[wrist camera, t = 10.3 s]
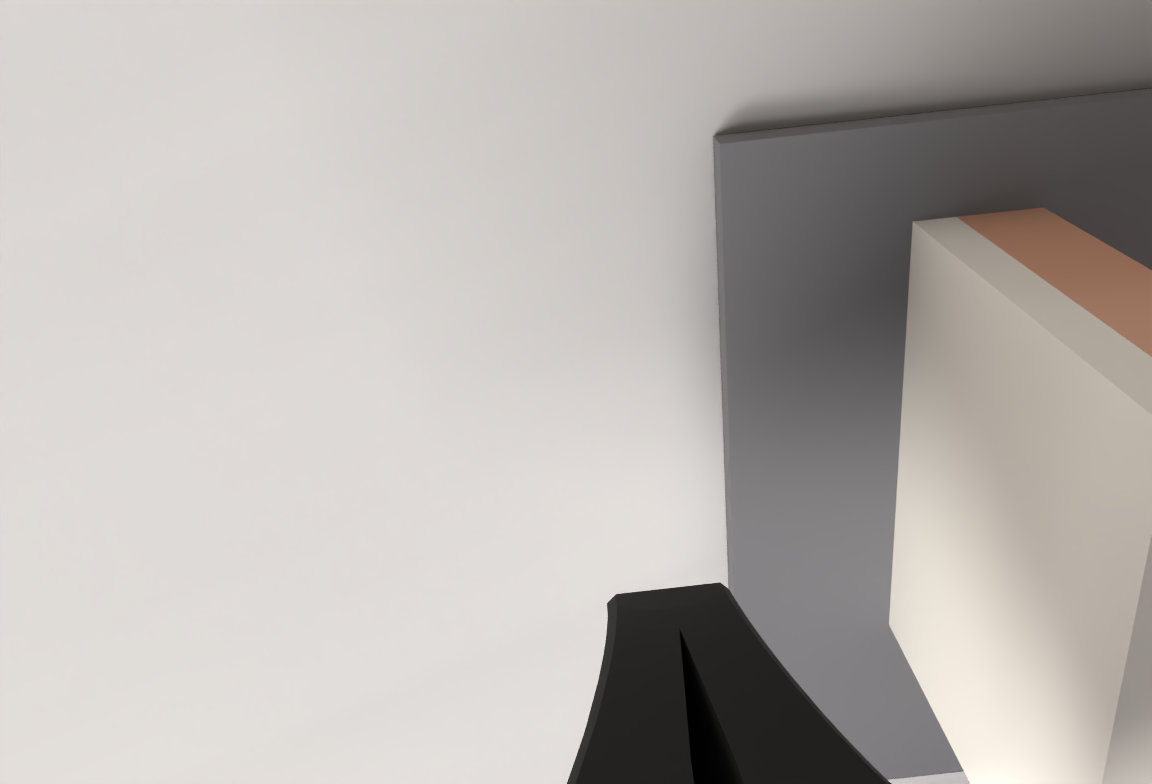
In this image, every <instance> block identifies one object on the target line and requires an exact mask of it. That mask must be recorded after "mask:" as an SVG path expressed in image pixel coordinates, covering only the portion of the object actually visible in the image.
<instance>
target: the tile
mask: <svg viewBox="0 0 1152 784" xmlns="http://www.w3.org/2000/svg"><path fill="white" fill-rule="evenodd" d="M889 626H890V628H891V630H892V632H893V633H894V635H895V637H896V639H897V641H898V643H899V645H900V647H901V649H902V651H903V653H904V655H905V657H906V659H907V661H908V663H909V665H910V667H911V669H912V671H913V673H914V675H915V676H916V678H917V680H918V682H919V684H920V686H921V688H922V690H923V692H924V694H925V696H926V698H927V700H928V702H929V704H930V706H931V708H932V710H933V712H934V714H935V716H936V718H937V720H938V721H939V723H940V725H941V727H942V729H943V731H944V733H945V735H946V737H947V739H948V741H949V743H950V745H951V747H952V749H953V751H954V753H955V755H956V757H957V759H958V761H959V763H960V764H961V766H962V768H963V770H964V772H965V774H966V776H967V778H968V780H969V782H970V784H1152V270H1150V269H1149V268H1147V267H1145V266H1144V265H1142V264H1140V263H1138V262H1137V261H1135V260H1133V259H1131V258H1130V257H1128V256H1126V255H1125V254H1123V253H1121V252H1119V251H1118V250H1116V249H1114V248H1112V247H1111V246H1109V245H1107V244H1106V243H1104V242H1102V241H1100V240H1099V239H1097V238H1095V237H1094V236H1092V235H1090V234H1088V233H1087V232H1085V231H1083V230H1081V229H1080V228H1078V227H1076V226H1075V225H1073V224H1071V223H1069V222H1068V221H1066V220H1064V219H1063V218H1061V217H1059V216H1057V215H1056V214H1054V213H1052V212H1050V211H1049V210H1047V209H1045V208H1044V207H1043V208H1034V209H1025V210H1015V211H1006V212H997V213H987V214H978V215H969V216H959V217H950V218H941V219H931V220H922V221H913V225H912V242H911V258H910V275H909V292H908V309H907V326H906V343H905V360H904V377H903V394H902V411H901V428H900V445H899V462H898V479H897V496H896V513H895V530H894V547H893V564H892V581H891V598H890V615H889Z"/></svg>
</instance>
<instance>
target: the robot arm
mask: <svg viewBox="0 0 1152 784" xmlns="http://www.w3.org/2000/svg"><path fill="white" fill-rule="evenodd" d="M607 609H608V624H607V636H606V643H605V650H604V656H603V661H602V666H601V671H600V676H599V680H598V684H597V688H596V692H595V696H594V699H593V703H592V707H591V711H590V715H589V718H588V722H587V726H586V729H585V733H584V736H583V739H582V742H581V745H580V748H579V751H578V753H577V756H576V759H575V762H574V765H573V768H572V771H571V774H570V776H569V779H568V782H567V784H891V783H890V782H889V781H888V780H887V779H886V778H885V777H884V776H883V775H882V774H881V773H880V772H879V771H878V770H877V769H876V768H875V767H874V766H873V765H872V764H871V763H870V762H869V761H868V760H867V759H866V758H865V757H864V756H863V755H862V754H861V753H860V752H859V751H858V750H857V749H856V748H855V747H854V746H853V745H852V744H851V743H850V742H849V741H848V740H847V739H846V738H845V737H844V735H843V734H842V733H841V732H840V731H839V730H838V729H837V728H836V727H835V726H834V725H833V723H832V722H831V721H830V720H829V719H828V718H827V717H826V716H825V715H824V714H823V712H822V711H821V710H820V709H819V708H818V707H817V705H816V704H815V703H814V702H813V701H812V700H811V698H810V697H809V696H808V695H807V694H806V692H805V691H804V690H803V689H802V688H801V687H800V685H799V684H798V683H797V682H796V681H795V680H794V678H793V677H792V676H791V675H790V674H789V672H788V671H787V670H786V669H785V667H784V666H783V665H782V664H781V662H780V661H779V660H778V659H777V657H776V656H775V655H774V653H773V652H772V651H771V649H770V648H769V647H768V645H767V644H766V643H765V641H764V640H763V639H762V638H761V636H760V635H759V633H758V632H757V631H756V629H755V628H754V626H753V625H752V624H751V622H750V621H749V619H748V618H747V616H746V615H745V614H744V612H743V610H742V609H741V607H740V606H739V604H738V603H737V601H736V600H735V598H734V596H733V595H732V593H731V591H730V590H729V589H728V588H727V587H725V586H724V585H723V584H721V583H712V584H703V585H694V586H686V587H677V588H668V589H659V590H650V591H641V592H632V593H623V594H616V595H615V596H614V597H613V598H612V599H611V600H610V601H609V602H608V603H607Z"/></svg>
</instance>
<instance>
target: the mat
mask: <svg viewBox="0 0 1152 784" xmlns="http://www.w3.org/2000/svg"><path fill="white" fill-rule="evenodd" d="M713 149H714V178H715V207H716V236H717V265H718V294H719V323H720V352H721V381H722V410H723V439H724V468H725V497H726V526H727V555H728V584H729V590H730V591H731V593H732V595H733V596H734V598H735V600H736V601H737V603H738V604H739V606H740V607H741V609H742V610H743V612H744V614H745V615H746V616H747V618H748V619H749V621H750V622H751V624H752V625H753V626H754V628H755V629H756V631H757V632H758V633H759V635H760V636H761V638H762V639H763V640H764V641H765V643H766V644H767V645H768V647H769V648H770V649H771V651H772V652H773V653H774V655H775V656H776V657H777V659H778V660H779V661H780V662H781V664H782V665H783V666H784V667H785V669H786V670H787V671H788V672H789V674H790V675H791V676H792V677H793V678H794V680H795V681H796V682H797V683H798V684H799V685H800V687H801V688H802V689H803V690H804V691H805V692H806V694H807V695H808V696H809V697H810V698H811V700H812V701H813V702H814V703H815V704H816V705H817V707H818V708H819V709H820V710H821V711H822V712H823V714H824V715H825V716H826V717H827V718H828V719H829V720H830V721H831V722H832V723H833V725H834V726H835V727H836V728H837V729H838V730H839V731H840V732H841V733H842V734H843V735H844V737H845V738H846V739H847V740H848V741H849V742H850V743H851V744H852V745H853V746H854V747H855V748H856V749H857V750H858V751H859V752H860V753H861V754H862V755H863V756H864V757H865V758H866V759H867V760H868V761H869V762H870V763H871V764H872V765H873V766H874V767H875V768H876V769H877V770H878V771H879V772H880V773H881V774H882V775H883V776H884V777H885V778H886V779H887V780H889V779H898V778H907V777H916V776H925V775H934V774H943V773H952V772H961V771H964V770H963V768H962V766H961V764H960V763H959V761H958V759H957V757H956V755H955V753H954V751H953V749H952V747H951V745H950V743H949V741H948V739H947V737H946V735H945V733H944V731H943V729H942V727H941V725H940V723H939V721H938V720H937V718H936V716H935V714H934V712H933V710H932V708H931V706H930V704H929V702H928V700H927V698H926V696H925V694H924V692H923V690H922V688H921V686H920V684H919V682H918V680H917V678H916V676H915V675H914V673H913V671H912V669H911V667H910V665H909V663H908V661H907V659H906V657H905V655H904V653H903V651H902V649H901V647H900V645H899V643H898V641H897V639H896V637H895V635H894V633H893V632H892V630H891V628H890V626H889V615H890V598H891V581H892V564H893V547H894V530H895V513H896V496H897V479H898V462H899V445H900V428H901V411H902V394H903V377H904V360H905V343H906V326H907V309H908V292H909V275H910V258H911V242H912V225H913V221H922V220H931V219H941V218H950V217H959V216H969V215H978V214H987V213H997V212H1006V211H1015V210H1025V209H1034V208H1043V207H1044V208H1045V209H1047V210H1049V211H1050V212H1052V213H1054V214H1056V215H1057V216H1059V217H1061V218H1063V219H1064V220H1066V221H1068V222H1069V223H1071V224H1073V225H1075V226H1076V227H1078V228H1080V229H1081V230H1083V231H1085V232H1087V233H1088V234H1090V235H1092V236H1094V237H1095V238H1097V239H1099V240H1100V241H1102V242H1104V243H1106V244H1107V245H1109V246H1111V247H1112V248H1114V249H1116V250H1118V251H1119V252H1121V253H1123V254H1125V255H1126V256H1128V257H1130V258H1131V259H1133V260H1135V261H1137V262H1138V263H1140V264H1142V265H1144V266H1145V267H1147V268H1149V269H1150V270H1152V88H1149V89H1139V90H1130V91H1121V92H1112V93H1103V94H1093V95H1084V96H1075V97H1066V98H1057V99H1047V100H1038V101H1029V102H1020V103H1011V104H1001V105H992V106H983V107H974V108H965V109H955V110H946V111H937V112H928V113H919V114H910V115H900V116H891V117H882V118H873V119H864V120H854V121H845V122H836V123H827V124H818V125H808V126H799V127H790V128H781V129H772V130H762V131H753V132H744V133H735V134H726V135H716V136H713Z"/></svg>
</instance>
